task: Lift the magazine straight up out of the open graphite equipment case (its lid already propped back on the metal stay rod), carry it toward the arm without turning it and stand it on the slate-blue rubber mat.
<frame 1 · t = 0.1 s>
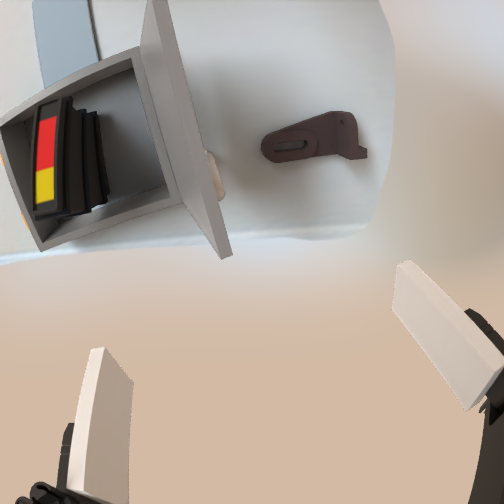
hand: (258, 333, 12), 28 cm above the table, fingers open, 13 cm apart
lid: (174, 121, 20), point 14 cm above the table, hinge at 102.3°
case: (91, 147, 31), on the table
bracket: (305, 134, 36), on the table
mat: (63, 28, 22), on the table
magazine: (92, 147, 31), resting in case
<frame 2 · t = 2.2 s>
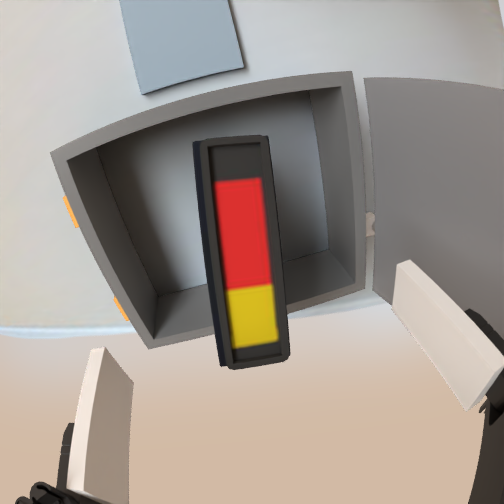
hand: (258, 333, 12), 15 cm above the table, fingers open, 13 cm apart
lid: (458, 234, 14), point 14 cm above the table, hinge at 102.3°
case: (223, 199, 25), on the table
mat: (172, 0, 15), on the table
magazine: (222, 198, 25), resting in case
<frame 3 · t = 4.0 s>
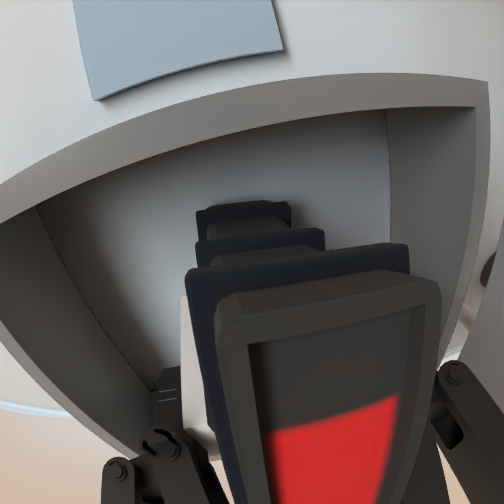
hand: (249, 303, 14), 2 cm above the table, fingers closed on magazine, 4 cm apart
case: (242, 276, 15), on the table
magazine: (241, 274, 16), resting in case, touching gripper
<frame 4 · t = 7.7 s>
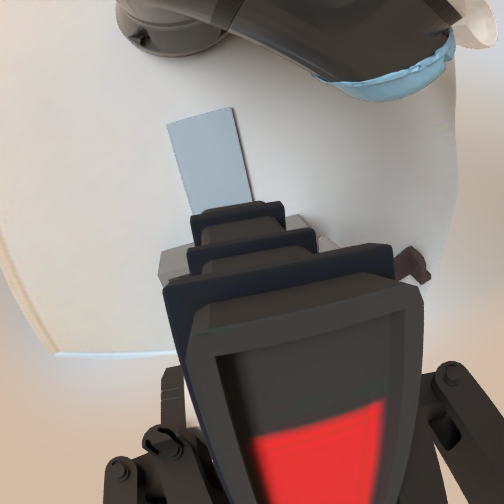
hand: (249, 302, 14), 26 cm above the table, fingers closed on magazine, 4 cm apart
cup: (399, 25, 29), on the table
lid: (356, 317, 34), point 14 cm above the table, hinge at 102.3°
case: (243, 283, 45), on the table
bracket: (390, 267, 51), on the table
mat: (212, 171, 36), on the table
magazine: (241, 275, 16), point 24 cm above the table, touching gripper
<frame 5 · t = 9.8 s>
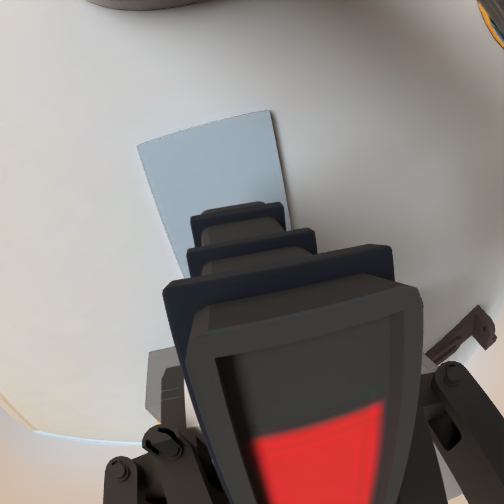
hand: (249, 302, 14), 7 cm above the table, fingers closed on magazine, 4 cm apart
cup: (497, 13, 12), on the table
lid: (435, 441, 18), point 14 cm above the table, hinge at 102.3°
case: (273, 381, 29), on the table
bracket: (451, 333, 34), on the table
mat: (231, 233, 20), on the table
magazine: (241, 275, 16), point 5 cm above the table, touching gripper
when the fingers open (3 cm above the table, at t = 11.6 s): magazine stays where it is, resting on mat.
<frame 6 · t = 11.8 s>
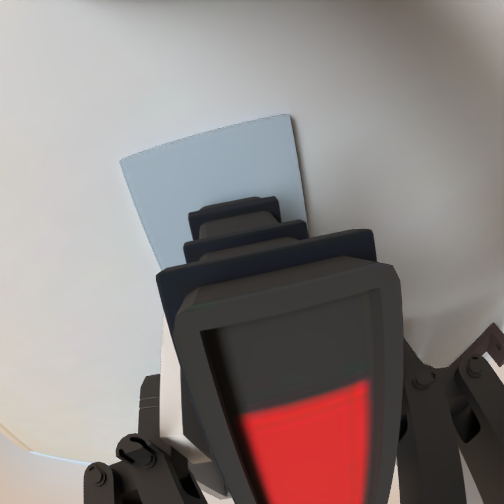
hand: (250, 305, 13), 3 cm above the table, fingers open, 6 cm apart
lid: (452, 473, 14), point 14 cm above the table, hinge at 102.3°
case: (282, 413, 26), on the table
bracket: (466, 351, 31), on the table
mat: (239, 266, 16), on the table
magazine: (241, 270, 16), resting on mat
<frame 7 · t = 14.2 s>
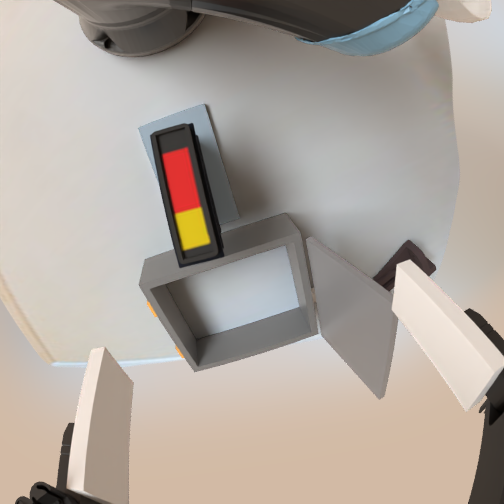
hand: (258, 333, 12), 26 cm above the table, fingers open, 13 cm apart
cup: (385, 4, 25), on the table
lid: (351, 322, 32), point 14 cm above the table, hinge at 102.3°
case: (233, 287, 43), on the table
bracket: (391, 266, 48), on the table
mat: (190, 172, 34), on the table
magazine: (191, 173, 33), resting on mat
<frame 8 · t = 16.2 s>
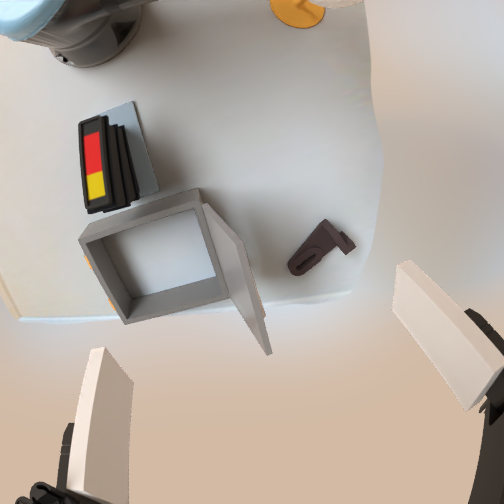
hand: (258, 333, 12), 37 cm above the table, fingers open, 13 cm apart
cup: (297, 5, 33), on the table
lid: (236, 277, 38), point 14 cm above the table, hinge at 102.3°
case: (158, 252, 49), on the table
bracket: (311, 244, 55), on the table
mat: (122, 154, 40), on the table
magazine: (121, 154, 40), resting on mat
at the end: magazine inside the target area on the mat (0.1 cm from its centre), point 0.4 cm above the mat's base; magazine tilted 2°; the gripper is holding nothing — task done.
